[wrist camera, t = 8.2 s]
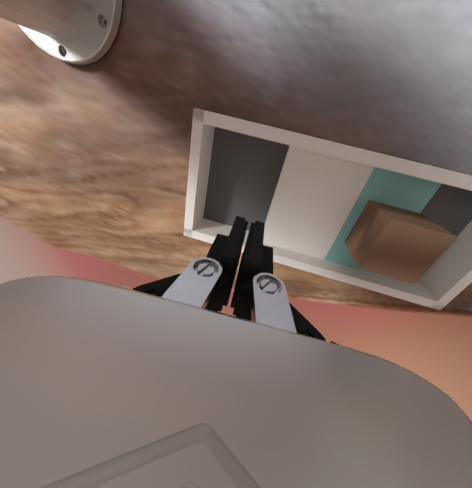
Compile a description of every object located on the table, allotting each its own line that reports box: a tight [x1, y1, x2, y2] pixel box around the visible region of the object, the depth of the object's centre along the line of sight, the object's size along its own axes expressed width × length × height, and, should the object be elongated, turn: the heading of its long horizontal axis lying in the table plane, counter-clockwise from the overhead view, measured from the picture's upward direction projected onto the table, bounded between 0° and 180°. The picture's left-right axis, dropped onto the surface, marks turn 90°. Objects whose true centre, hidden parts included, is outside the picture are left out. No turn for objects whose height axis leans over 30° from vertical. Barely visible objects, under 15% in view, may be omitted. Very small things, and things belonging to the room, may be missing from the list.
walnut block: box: [345, 200, 457, 284], centre depth 19 cm, size 5×5×5 cm
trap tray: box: [184, 108, 472, 310], centre depth 22 cm, size 13×30×4 cm, turn 78°
